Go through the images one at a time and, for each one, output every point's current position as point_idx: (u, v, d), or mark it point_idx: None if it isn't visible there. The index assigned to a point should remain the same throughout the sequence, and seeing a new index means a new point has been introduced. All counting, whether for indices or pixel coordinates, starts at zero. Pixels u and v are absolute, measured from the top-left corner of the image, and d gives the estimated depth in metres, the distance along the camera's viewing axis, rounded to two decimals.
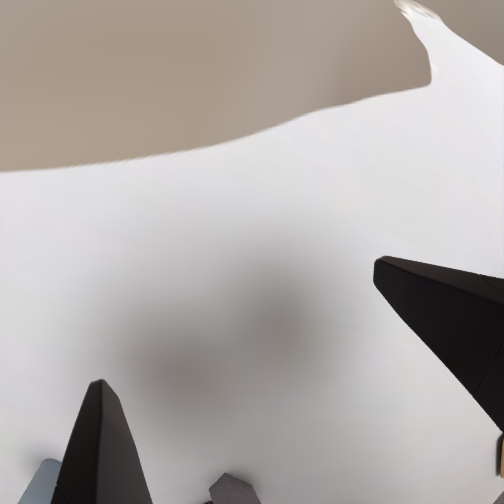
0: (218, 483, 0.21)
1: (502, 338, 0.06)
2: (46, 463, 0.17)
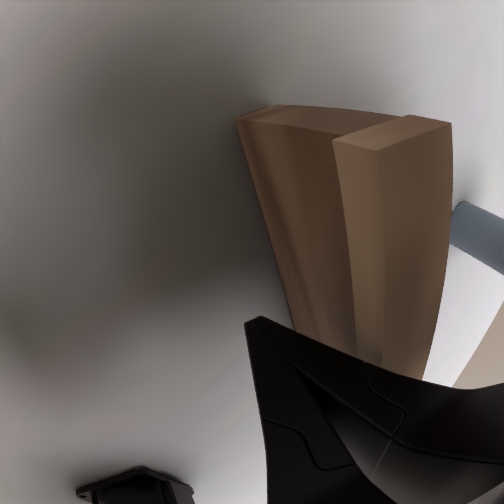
0: None
1: (377, 456, 0.05)
2: None
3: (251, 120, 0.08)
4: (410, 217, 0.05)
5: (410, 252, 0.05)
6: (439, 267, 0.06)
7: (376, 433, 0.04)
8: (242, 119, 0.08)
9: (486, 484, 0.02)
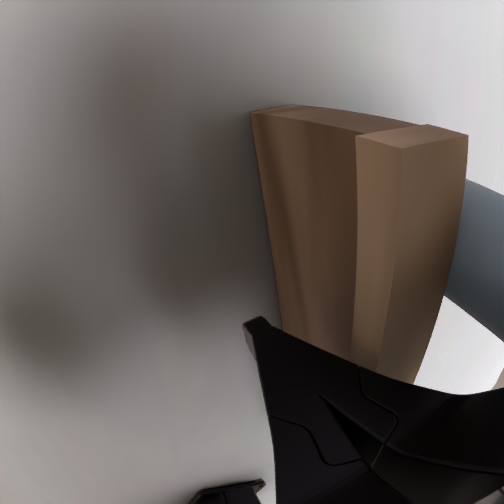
0: None
1: (370, 461, 0.05)
2: None
3: (268, 114, 0.08)
4: (423, 220, 0.05)
5: (418, 256, 0.05)
6: (442, 276, 0.06)
7: (369, 438, 0.04)
8: (258, 113, 0.08)
9: (479, 492, 0.02)
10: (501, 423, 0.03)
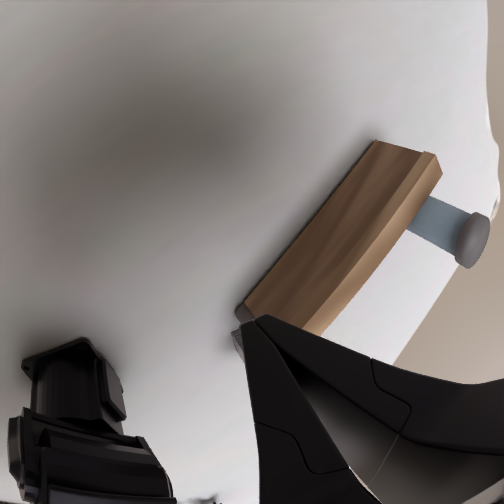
0: None
1: (384, 451, 0.05)
2: None
3: (386, 143, 0.21)
4: (429, 174, 0.18)
5: (424, 182, 0.18)
6: (421, 202, 0.19)
7: (383, 427, 0.04)
8: None
9: (493, 476, 0.02)
10: None
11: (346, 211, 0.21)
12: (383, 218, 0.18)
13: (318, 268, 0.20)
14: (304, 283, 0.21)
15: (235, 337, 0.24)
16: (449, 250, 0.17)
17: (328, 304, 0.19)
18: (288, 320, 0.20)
